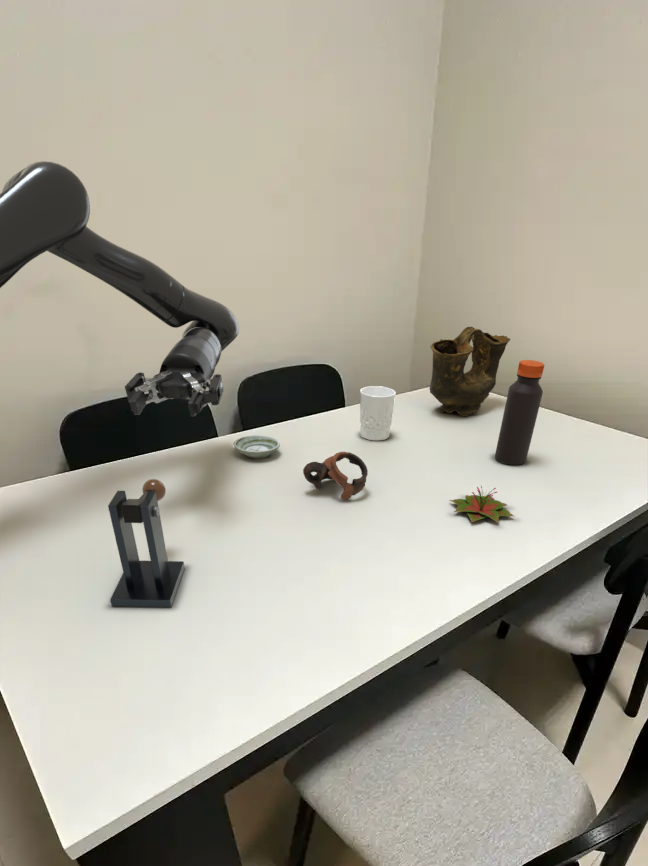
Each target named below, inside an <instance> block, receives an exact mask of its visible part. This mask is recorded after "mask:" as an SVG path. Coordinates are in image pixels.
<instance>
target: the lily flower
mask: <svg viewBox="0 0 648 866" xmlns="http://www.w3.org/2000/svg"><path fill="white" fill-rule="evenodd" d="M482 486H483V485H480V488H481V490H483V487H482ZM480 488H479V487H478V486H476V489H477V492H478V494H476V493H475V492H474V491H472V492H471V494H470V495H468V494H465V496H464V497H465V499H464V498H457V499H456V498H455V499H449V501H450V502H452V503H453V504H455V505H457V507H456V508H455V510H454V511H453V513H460V512H463V513H464V512H466V515H467V516H468V518H469V519H470V522H471V523H473V522H476V521H479V520H483V519H486V518H487V517H488V518H490V519H491V520H493V521H495V522H496V523H497V524H499V520H500V517H515V518H516V515H514V514H513V513H511V512H510V511H509V510H507V509H505V508H504V507H507V503H504V502H501V501H500V500H497V499H495V498H494V494H498V491H494V490H496V489H497V487H494V488H493V489H492V491H494V492H492V493H491V491H489V492H488V493H487V491H485V492H484V494H483V495H482V491H481V490H480Z"/></svg>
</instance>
